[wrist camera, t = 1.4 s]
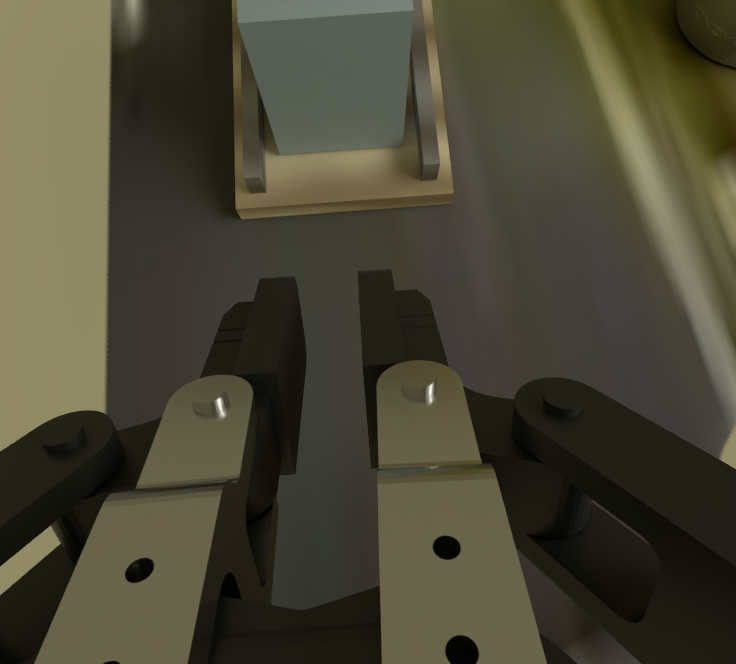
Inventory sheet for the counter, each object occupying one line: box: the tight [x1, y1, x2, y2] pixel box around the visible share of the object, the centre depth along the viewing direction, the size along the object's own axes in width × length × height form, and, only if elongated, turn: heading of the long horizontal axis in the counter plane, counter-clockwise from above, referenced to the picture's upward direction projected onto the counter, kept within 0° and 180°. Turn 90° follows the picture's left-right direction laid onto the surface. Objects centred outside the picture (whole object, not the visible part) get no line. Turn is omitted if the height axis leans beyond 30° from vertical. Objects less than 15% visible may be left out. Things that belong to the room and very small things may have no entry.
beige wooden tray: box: [232, 0, 454, 219], centre depth 37 cm, size 26×14×4 cm, turn 4°
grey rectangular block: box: [237, 0, 414, 155], centre depth 30 cm, size 5×8×11 cm, turn 94°
